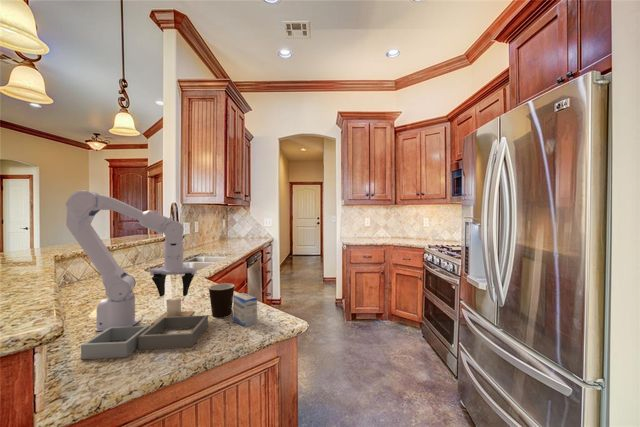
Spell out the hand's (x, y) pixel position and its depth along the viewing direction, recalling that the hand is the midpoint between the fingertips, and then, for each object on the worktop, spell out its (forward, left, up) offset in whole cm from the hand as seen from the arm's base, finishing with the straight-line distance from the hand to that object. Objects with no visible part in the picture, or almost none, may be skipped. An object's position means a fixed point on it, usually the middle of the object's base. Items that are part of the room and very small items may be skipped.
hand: (173, 295), depth 93 cm
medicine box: (+25, -6, -8) cm, 27 cm away
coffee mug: (+16, +3, -8) cm, 18 cm away
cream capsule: (0, 0, -7) cm, 7 cm away
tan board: (0, 0, -8) cm, 8 cm away
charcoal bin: (+7, -15, -8) cm, 18 cm away
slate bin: (-6, -20, -8) cm, 22 cm away
